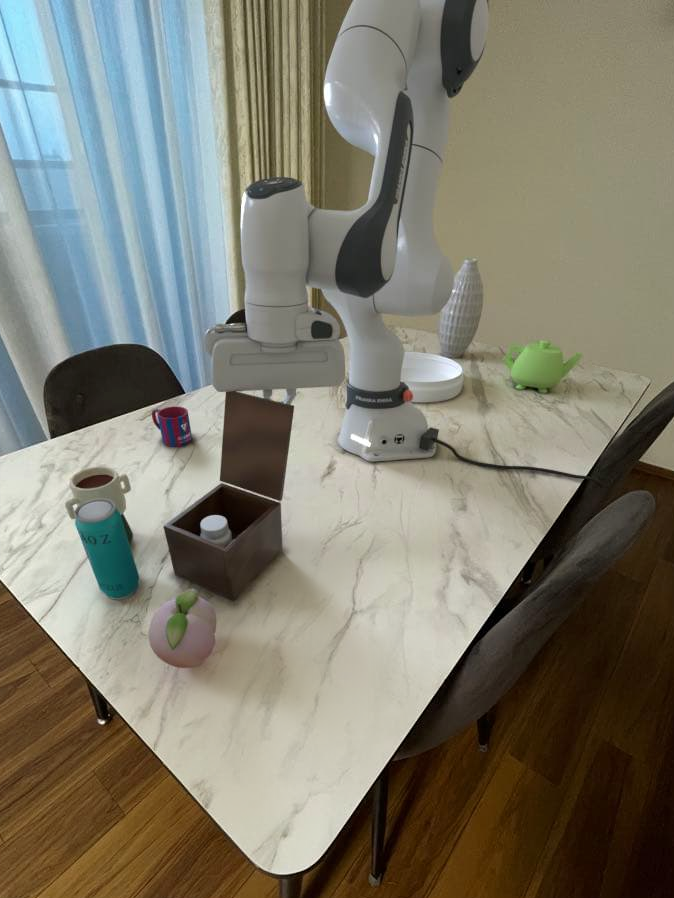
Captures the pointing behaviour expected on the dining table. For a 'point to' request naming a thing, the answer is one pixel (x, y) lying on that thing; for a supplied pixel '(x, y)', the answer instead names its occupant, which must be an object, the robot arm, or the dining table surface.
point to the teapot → (538, 365)
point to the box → (241, 559)
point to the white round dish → (431, 377)
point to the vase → (461, 311)
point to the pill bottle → (216, 530)
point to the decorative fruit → (183, 630)
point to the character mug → (100, 490)
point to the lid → (255, 443)
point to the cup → (173, 425)
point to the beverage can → (107, 547)
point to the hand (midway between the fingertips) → (279, 414)
